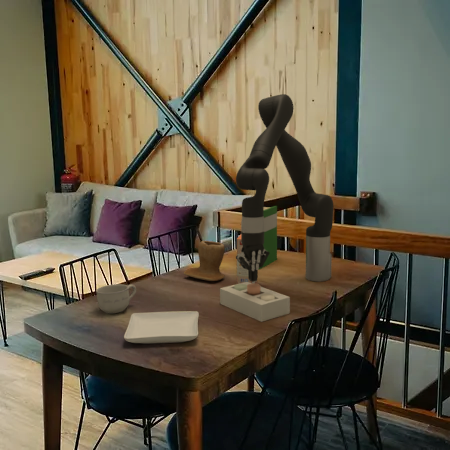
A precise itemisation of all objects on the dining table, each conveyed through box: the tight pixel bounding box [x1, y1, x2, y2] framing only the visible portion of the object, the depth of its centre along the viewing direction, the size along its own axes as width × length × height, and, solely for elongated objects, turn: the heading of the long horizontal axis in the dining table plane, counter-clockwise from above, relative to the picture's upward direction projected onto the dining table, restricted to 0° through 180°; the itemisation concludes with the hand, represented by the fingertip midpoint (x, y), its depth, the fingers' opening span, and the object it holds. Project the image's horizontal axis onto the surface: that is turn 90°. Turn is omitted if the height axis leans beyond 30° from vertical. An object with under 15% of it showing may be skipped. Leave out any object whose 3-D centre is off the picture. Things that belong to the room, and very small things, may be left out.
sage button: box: [234, 283, 247, 291], centre depth 197 cm, size 4×4×3 cm
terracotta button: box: [247, 283, 262, 295], centre depth 191 cm, size 4×4×3 cm
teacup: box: [95, 283, 137, 314], centre depth 192 cm, size 14×11×8 cm
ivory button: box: [261, 294, 274, 301], centre depth 186 cm, size 4×4×3 cm
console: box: [219, 282, 291, 323], centre depth 191 cm, size 12×22×6 cm, turn 36°
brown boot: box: [183, 240, 226, 282], centre depth 226 cm, size 15×12×15 cm
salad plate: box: [123, 310, 200, 344], centre depth 172 cm, size 21×21×3 cm
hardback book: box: [258, 205, 278, 271], centre depth 245 cm, size 18×7×24 cm, turn 150°
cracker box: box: [236, 234, 258, 284], centre depth 210 cm, size 14×6×21 cm, turn 168°
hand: (252, 280), depth 190 cm, fingers closed
